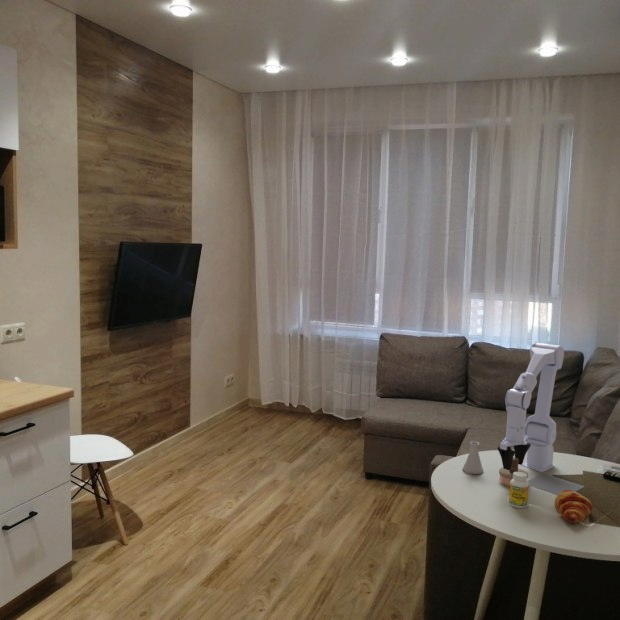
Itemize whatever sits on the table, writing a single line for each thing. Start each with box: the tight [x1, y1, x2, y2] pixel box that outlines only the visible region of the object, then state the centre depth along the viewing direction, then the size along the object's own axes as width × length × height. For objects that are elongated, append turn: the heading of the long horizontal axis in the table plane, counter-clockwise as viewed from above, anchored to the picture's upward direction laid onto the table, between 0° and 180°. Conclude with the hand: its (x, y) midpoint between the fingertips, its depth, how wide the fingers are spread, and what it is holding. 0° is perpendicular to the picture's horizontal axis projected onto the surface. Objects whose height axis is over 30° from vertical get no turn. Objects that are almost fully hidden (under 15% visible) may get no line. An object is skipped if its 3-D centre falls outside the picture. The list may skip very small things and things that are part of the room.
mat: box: [527, 473, 585, 495], centre depth 199 cm, size 14×14×1 cm
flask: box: [462, 441, 484, 475], centre depth 209 cm, size 7×7×10 cm
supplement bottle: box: [508, 472, 530, 509], centre depth 183 cm, size 5×5×10 cm
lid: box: [498, 457, 529, 479], centre depth 199 cm, size 9×9×5 cm
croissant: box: [554, 490, 593, 524], centre depth 179 cm, size 21×10×8 cm, turn 158°
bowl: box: [499, 474, 512, 487], centre depth 200 cm, size 7×7×3 cm
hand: (512, 466), depth 200 cm, fingers open, 7 cm apart
